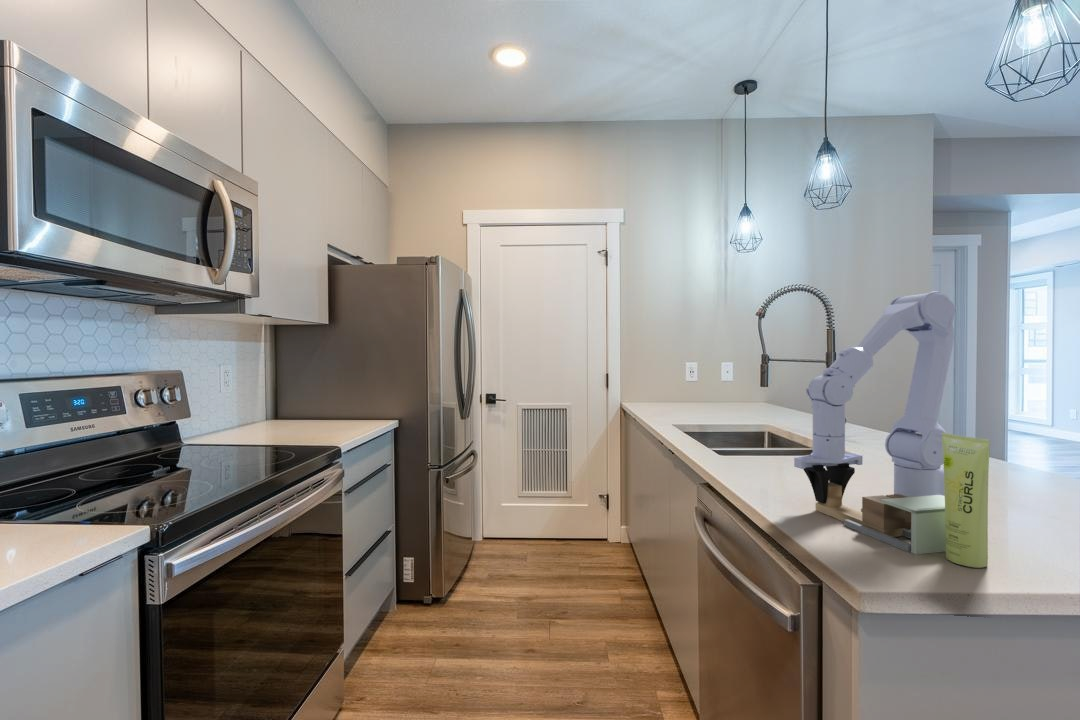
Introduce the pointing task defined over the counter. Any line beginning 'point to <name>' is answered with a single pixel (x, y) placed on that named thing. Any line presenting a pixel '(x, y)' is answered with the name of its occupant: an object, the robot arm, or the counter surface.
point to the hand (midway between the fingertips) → (828, 501)
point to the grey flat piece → (881, 535)
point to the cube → (882, 513)
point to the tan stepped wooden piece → (847, 510)
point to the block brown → (907, 514)
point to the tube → (966, 499)
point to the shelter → (924, 521)
